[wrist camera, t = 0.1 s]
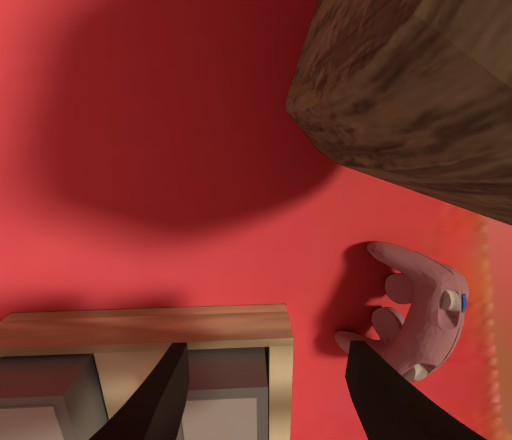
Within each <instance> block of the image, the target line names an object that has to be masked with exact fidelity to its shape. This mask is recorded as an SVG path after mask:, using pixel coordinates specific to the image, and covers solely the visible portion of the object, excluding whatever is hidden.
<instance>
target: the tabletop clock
mask: <svg viewBox="0 0 512 440" xmlns="http://www.w3.org/2000/svg"><path fill="white" fill-rule="evenodd" d="M286 111H287V112H288V114H289V115H290V116H291V117H292V119H293V120H294V121H295V122H296V124H297V125H298V126H299V127H300V129H301V130H302V131H303V132H304V134H305V135H306V136H307V137H308V139H309V140H310V141H311V142H312V144H313V145H314V146H315V147H316V149H317V150H318V151H319V152H321V153H322V154H324V155H326V156H327V157H329V158H330V159H332V160H333V161H335V162H336V163H338V164H340V165H342V166H345V167H348V168H351V169H354V170H356V171H359V172H362V173H365V174H368V175H371V176H373V177H376V178H379V179H382V180H385V181H388V182H390V183H393V184H396V185H399V186H402V187H404V188H407V189H410V190H413V191H416V192H419V193H421V194H424V195H427V196H430V197H433V198H436V199H438V200H441V201H444V202H447V203H450V204H452V205H455V206H458V207H461V208H464V209H467V210H469V211H472V212H475V213H478V214H481V215H483V216H486V217H489V218H492V219H495V220H498V221H501V222H503V223H506V224H509V225H512V0H319V1H318V4H317V7H316V10H315V13H314V15H313V18H312V21H311V24H310V27H309V30H308V33H307V36H306V39H305V42H304V45H303V48H302V51H301V54H300V57H299V60H298V63H297V66H296V69H295V72H294V75H293V79H292V82H291V85H290V88H289V92H288V95H287V99H286Z"/></svg>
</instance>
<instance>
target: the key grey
mask: <svg viewBox="0 0 512 440" xmlns="http://www.w3.org/2000/svg"><path fill="white" fill-rule="evenodd" d="M188 362H189V378H190V380H189V387H188V393H187V399H186V405H185V409H184V413H183V416H182V420H181V424H180V428H179V431H178V435H177V439H176V440H268V382H267V371H266V360H265V350H264V347H246V348H220V349H193V350H188Z"/></svg>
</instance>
